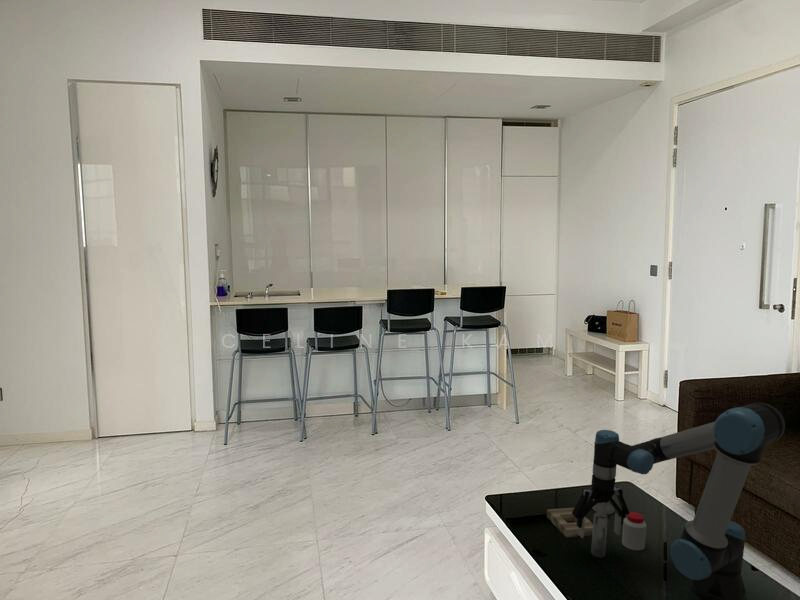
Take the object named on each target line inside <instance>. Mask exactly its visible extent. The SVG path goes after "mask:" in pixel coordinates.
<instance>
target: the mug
mask: <svg viewBox="0 0 800 600" xmlns="http://www.w3.org/2000/svg"><path fill="white" fill-rule="evenodd" d="M616 487H617V486H615V488H614V489H616ZM612 498H613V500H614V501H615V502H616V494H614V495H613V496H612ZM593 501H594V499H593ZM591 510H593V511H594V513H596V512H601V513H604V514H606V515H612V514H614V513H615V512H616V510H615V509H614V507H613V506H612V505H611V503H610V502H609V501H608V502H607V503H604V502H603V503H597V504H596V505H594V506H593V507H592V509H591Z"/></svg>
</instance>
